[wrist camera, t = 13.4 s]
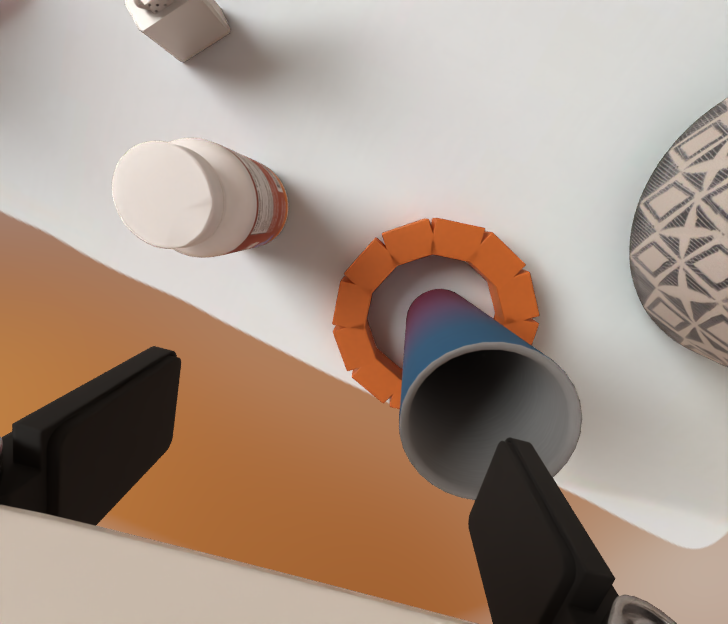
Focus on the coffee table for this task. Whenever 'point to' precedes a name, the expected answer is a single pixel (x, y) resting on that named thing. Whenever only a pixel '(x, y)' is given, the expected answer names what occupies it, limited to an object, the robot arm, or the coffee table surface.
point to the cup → (477, 395)
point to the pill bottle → (198, 197)
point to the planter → (687, 239)
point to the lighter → (180, 24)
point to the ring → (407, 245)
